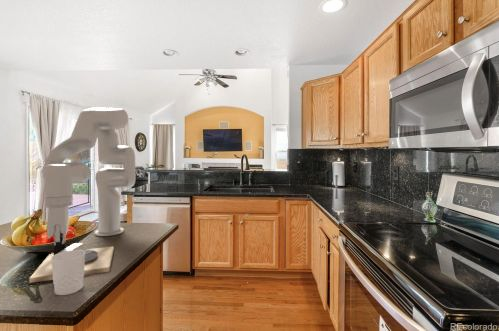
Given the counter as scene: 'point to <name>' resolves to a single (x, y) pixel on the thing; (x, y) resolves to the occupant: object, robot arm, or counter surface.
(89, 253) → the dial
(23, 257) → the counter surface
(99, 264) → the dial panel
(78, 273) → the white cup
